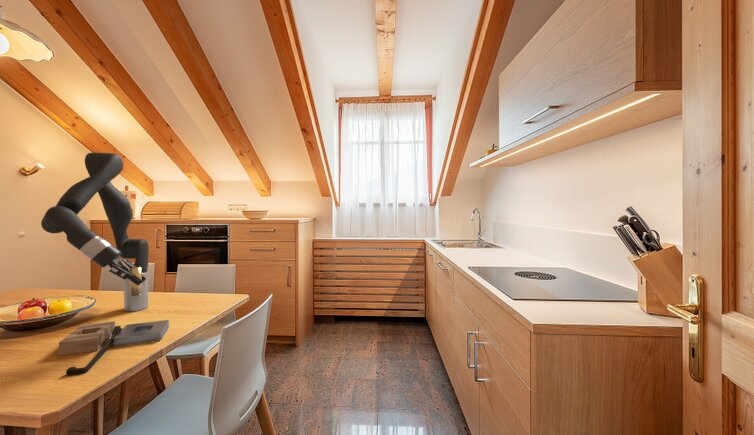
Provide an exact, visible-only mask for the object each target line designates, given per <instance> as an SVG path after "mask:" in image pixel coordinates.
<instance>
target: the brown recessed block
mask: <svg viewBox="0 0 754 435" xmlns="http://www.w3.org/2000/svg"><path fill="white" fill-rule="evenodd" d="M115 326H116V321H115V320H113V321H102V322H93V323H85V324H81V325H80V326H79V327H77V328H76V329H75V330H73V331H72V332H71V333H69V334H68V335H67V336H66V337H64V338H63V339H61V340H60V341H59V342H58V356H59V357H62V356H68V355H69V356H70V354H71V355H76V353H78V354H84V353H83V352H85V353H91V352H90V351H92V352H99V350H101V348H102V347H103V346H104V345H105V344H106V343H107V342H106V341H107V340H108V339H109V338H110V337H111V336H112V332H113V330H114V327H115ZM105 342H106V343H105ZM103 344H104V345H103ZM100 347H101V348H100ZM98 349H99V350H98Z"/></svg>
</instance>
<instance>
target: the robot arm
mask: <svg viewBox="0 0 754 435" xmlns="http://www.w3.org/2000/svg"><path fill="white" fill-rule="evenodd" d="M84 166H85V168H86V171H87V174H88V175H89V176H88V177H86V178H84V179H82V180H79V181H78V182H76V183H74V184H73V185H71V186H70V187H68V189H67V190H66V191H65V192H64V193H63V195H62V196H61V197H60V198H59V199H58V201H57V204H55V206H52V207H49V208H48V209H47V210H46V212H45V214H44V215H43V218H42V219H41V223H40V224H41V228H42V229H43V230H44V231H45V232H47V233H48V234H49V233H50V234H61V233H65V235H66V241H67V242H68V243H69V244H70V245H72V246H73V247H75V249H77V250H79V251H80V252H81V253H82V254H83V255H84V256H86V258H88V259H90V260H91V261H93V262H94V263H95V264H97V265H98V266H99V267H100V268H106V267H109V268H110V269H109V273H111V274H113V275H115V276H117V277H119V278H121V279H122V280H123V309H124V312H137V311H141V310H145V309H147V308H149V280H148V267H149V252H150V250H149V249H150V247H149V243H148V241H147V240H146V239H145V238H144V239H143V238H129V235H128V228H129V225H130V224H131V222H132V219H133V216H134V212H133V210H132V206H131V202H130V201H129V199H128V197H127V196H125V195H124V193H122V192H121V191H120V190H119V189H118V188H116V186H114V185H113V183H112V182H111V181H113V180H114V179H115V178H116V177H117V176H120V174H121V173H122V171H123V169H124V160H123V158H122V157H121V156H120V155H119V154H117V153H110V152H88V153H87V154H85V157H84ZM97 193H98V196H99V198H100V201H101V203H102V206H103V210H104V213H105V215H106V217H107V220H108V222H109V225H110V228H111V230H112V234H113V238H114V242H115V246H114V245H113V244H111V243H110V242H108V240H106V239H105V238H103V237H101V236H100V235H98V234H97V233H95V232H94V231H92V230H91V229H90V228H89V227H88V226H87V225H86V224H85V222H84V221H83V220H82V219H81V218H80V217H79V216H78V215H79V213H80V212H81V211H82V210H83V209H85V207H86V206H87V205H88V203H89V202H90V200H91V199H92V198H93V197H95V195H96V194H97ZM130 259H134V261H135V262H134V263H133V262H132V261H130ZM133 267H141V269H142V280H141V279H140V278H139V277H137V276H136V275H134V273H132V272H131V271H130V268H133ZM130 281H132V282H133V283H135V284H136V285H140V284H141V283H142V294H141V295H137V296H130Z"/></svg>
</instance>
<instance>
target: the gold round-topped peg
mask: <svg viewBox="0 0 754 435" xmlns="http://www.w3.org/2000/svg"><path fill="white" fill-rule="evenodd" d="M130 271H131V272H132V273H134V275H136V276H137V277H139V278H140V279H141V280H142V269H141V267H133V268H130ZM141 294H142V283H141V284H140V285H136V284H135V283H133V282H132V281H130V296H137V295H141Z"/></svg>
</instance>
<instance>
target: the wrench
mask: <svg viewBox="0 0 754 435" xmlns="http://www.w3.org/2000/svg"><path fill="white" fill-rule="evenodd" d="M122 329H123V327H121V325H115V327H114V330H113V332H112V336H111V338H110V339H109V340H108V341H107V342H106V343H105V344H104V345H103V346H102V347H101V348H100V349H99V350H98V351H97V353H96V354H95V356H94V357H93V358H92V359H91V360H90V361H89V363H88V364H86V365H85V366H84V367H76V366H69V367H68V368H67V369H66V371H65V374H66V375H67V376H74V375H82V374H86V373H88V372H89V371H90V370H91V369H92V367H93V366H94V365H95V364H96V363H97V362H98V361H99V360H100V359H101V357H102V356H103V355H104V354H105V353H106V352H107V351H108V350H109V348H110V347H111V346H112V345H114V340H113V339H114V337H115V336H116V335H117V334H118V333H119V332H120V331H121V330H122Z"/></svg>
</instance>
